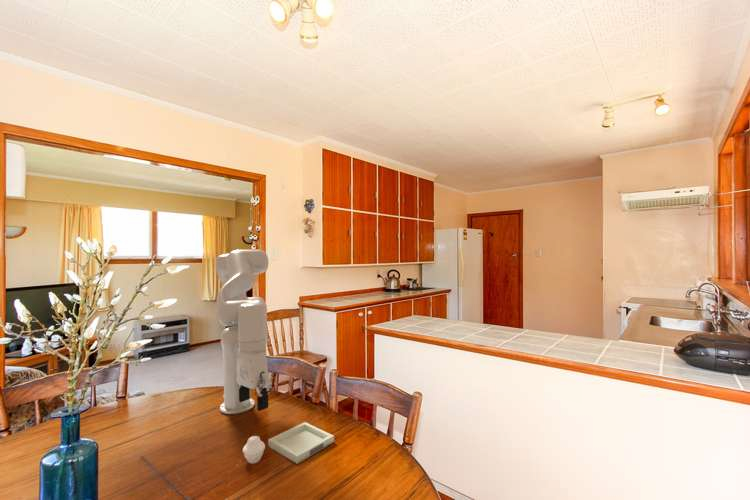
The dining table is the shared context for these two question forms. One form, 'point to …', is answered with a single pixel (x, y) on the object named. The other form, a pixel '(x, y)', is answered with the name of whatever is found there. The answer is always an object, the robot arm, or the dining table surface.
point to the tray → (300, 442)
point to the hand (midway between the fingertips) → (253, 404)
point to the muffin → (253, 449)
